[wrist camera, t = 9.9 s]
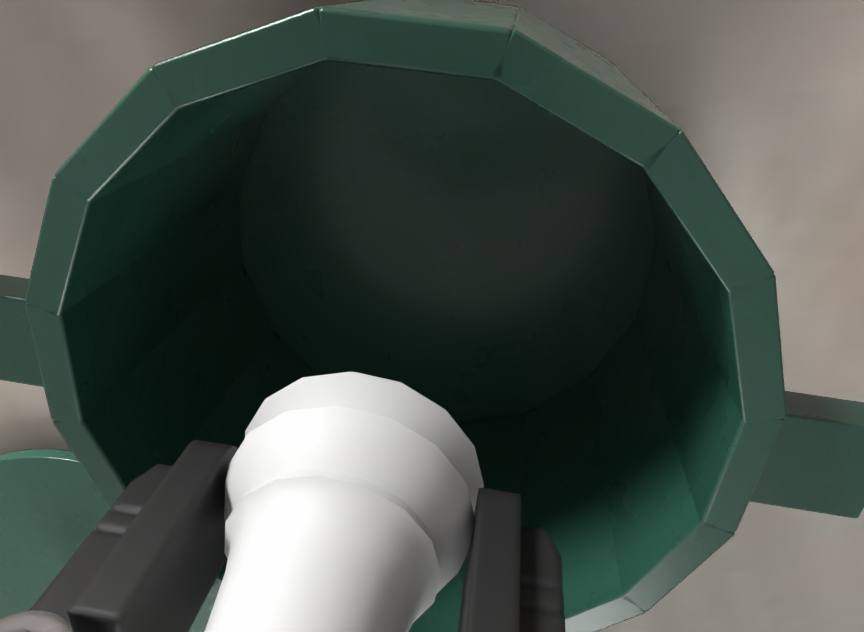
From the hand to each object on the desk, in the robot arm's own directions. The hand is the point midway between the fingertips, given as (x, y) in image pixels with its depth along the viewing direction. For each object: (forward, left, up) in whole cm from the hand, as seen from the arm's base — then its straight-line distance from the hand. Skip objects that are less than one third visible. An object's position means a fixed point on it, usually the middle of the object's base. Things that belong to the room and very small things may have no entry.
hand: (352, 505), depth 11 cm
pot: (0, 0, -12) cm, 12 cm away
